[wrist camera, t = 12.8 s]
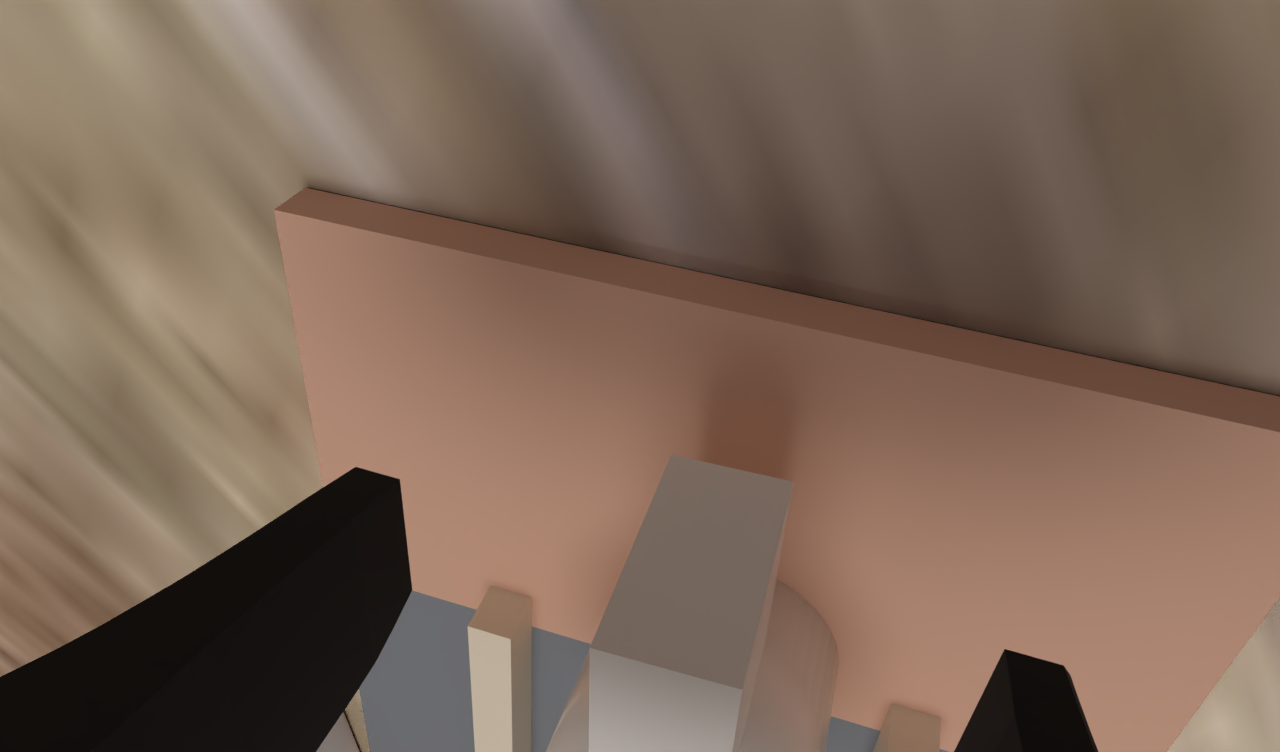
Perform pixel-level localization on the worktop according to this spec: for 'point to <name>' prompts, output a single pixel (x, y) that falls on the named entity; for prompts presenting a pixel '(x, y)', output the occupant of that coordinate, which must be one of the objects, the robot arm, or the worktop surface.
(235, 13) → the worktop surface
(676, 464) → the jug
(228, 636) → the robot arm
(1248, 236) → the worktop surface
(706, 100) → the worktop surface
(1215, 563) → the jug holder
